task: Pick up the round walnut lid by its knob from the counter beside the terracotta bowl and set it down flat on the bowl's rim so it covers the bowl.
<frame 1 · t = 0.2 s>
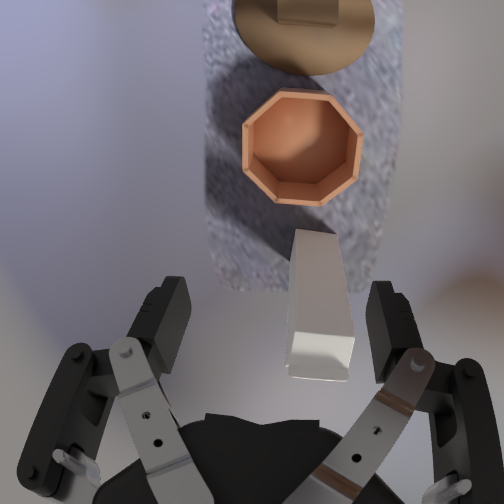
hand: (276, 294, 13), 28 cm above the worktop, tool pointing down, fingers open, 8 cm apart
lid: (305, 13, 27), on the worktop
bowl: (300, 138, 36), on the worktop
milk: (312, 247, 45), on the worktop
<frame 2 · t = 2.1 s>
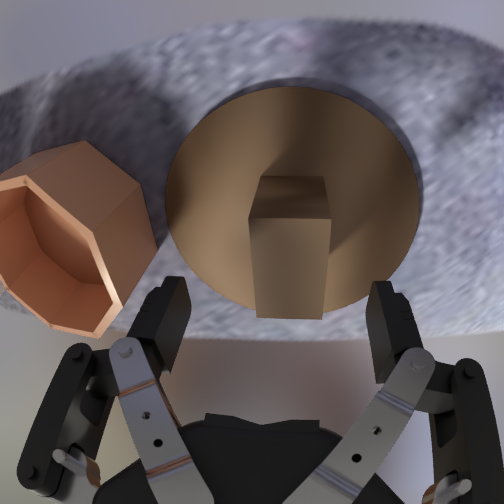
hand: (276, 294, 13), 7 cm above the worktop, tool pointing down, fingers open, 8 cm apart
lid: (292, 214, 19), on the worktop
bowl: (81, 221, 22), on the worktop
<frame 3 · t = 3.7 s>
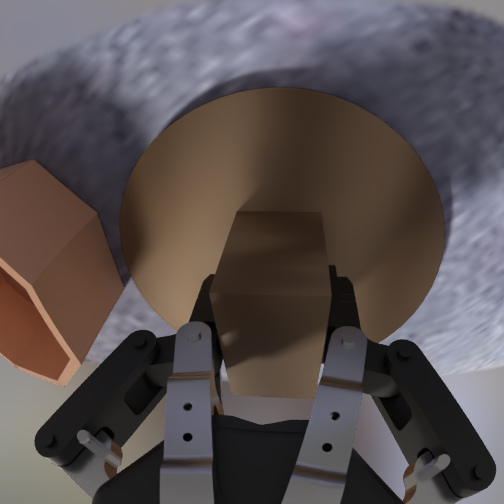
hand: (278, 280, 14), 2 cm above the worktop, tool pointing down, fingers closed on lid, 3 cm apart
lid: (280, 256, 15), on the worktop, touching gripper
bowl: (40, 251, 17), on the worktop
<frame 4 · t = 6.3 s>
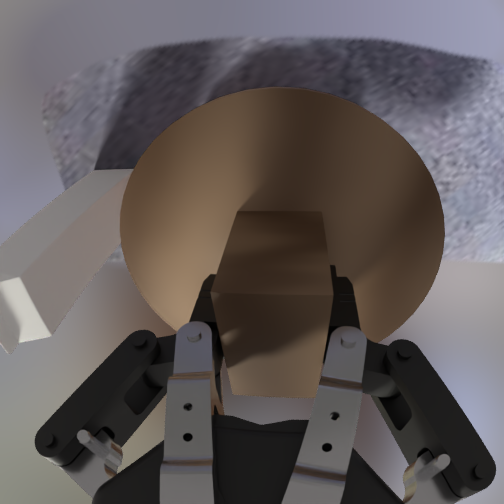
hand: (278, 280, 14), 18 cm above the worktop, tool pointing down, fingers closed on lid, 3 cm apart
lid: (281, 256, 15), point 16 cm above the worktop, touching gripper
milk: (118, 191, 34), on the worktop
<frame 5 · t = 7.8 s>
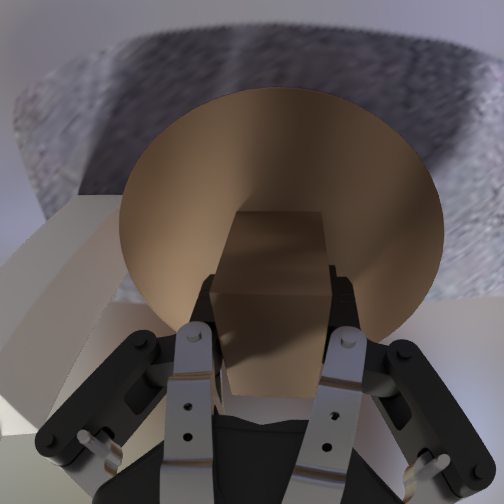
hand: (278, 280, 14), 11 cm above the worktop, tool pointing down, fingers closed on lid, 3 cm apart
lid: (280, 256, 15), point 9 cm above the worktop, touching gripper
milk: (109, 222, 27), on the worktop
when the fingers open (9 cm above the worktop, at t = 8.9 s): lid drops 1 cm, resting on bowl.
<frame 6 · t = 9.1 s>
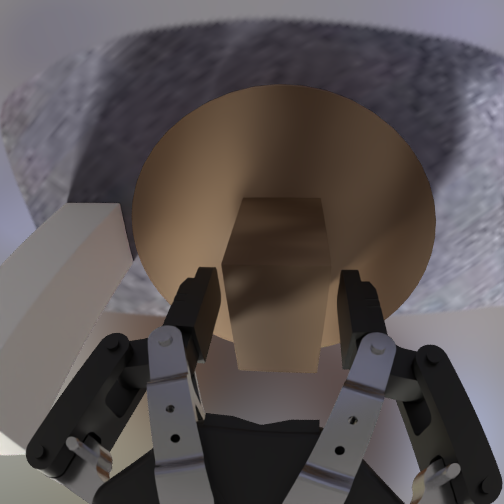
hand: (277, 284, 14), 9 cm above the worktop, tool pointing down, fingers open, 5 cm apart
lid: (283, 241, 16), point 6 cm above the worktop, touching bowl
milk: (100, 231, 25), on the worktop
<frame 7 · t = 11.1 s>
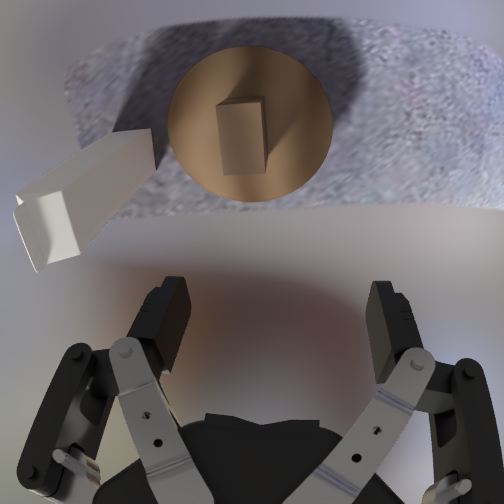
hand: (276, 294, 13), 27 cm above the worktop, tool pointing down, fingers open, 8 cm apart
lid: (249, 125, 29), point 6 cm above the worktop, touching bowl
milk: (134, 150, 37), on the worktop
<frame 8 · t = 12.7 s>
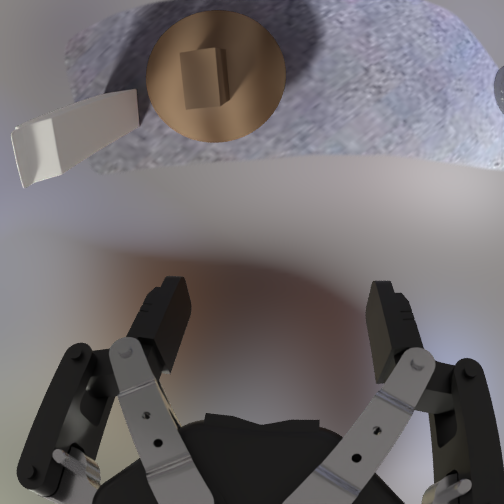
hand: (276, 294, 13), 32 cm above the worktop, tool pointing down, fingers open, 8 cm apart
lid: (214, 75, 31), point 6 cm above the worktop, touching bowl
milk: (121, 109, 40), on the worktop
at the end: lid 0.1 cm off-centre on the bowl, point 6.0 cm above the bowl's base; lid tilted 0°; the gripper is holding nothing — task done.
